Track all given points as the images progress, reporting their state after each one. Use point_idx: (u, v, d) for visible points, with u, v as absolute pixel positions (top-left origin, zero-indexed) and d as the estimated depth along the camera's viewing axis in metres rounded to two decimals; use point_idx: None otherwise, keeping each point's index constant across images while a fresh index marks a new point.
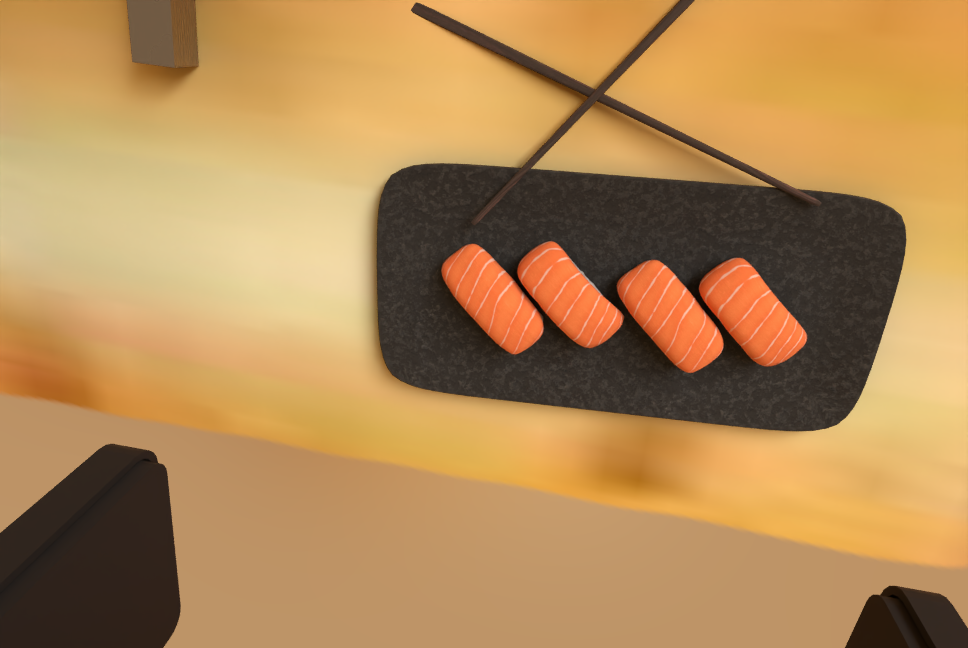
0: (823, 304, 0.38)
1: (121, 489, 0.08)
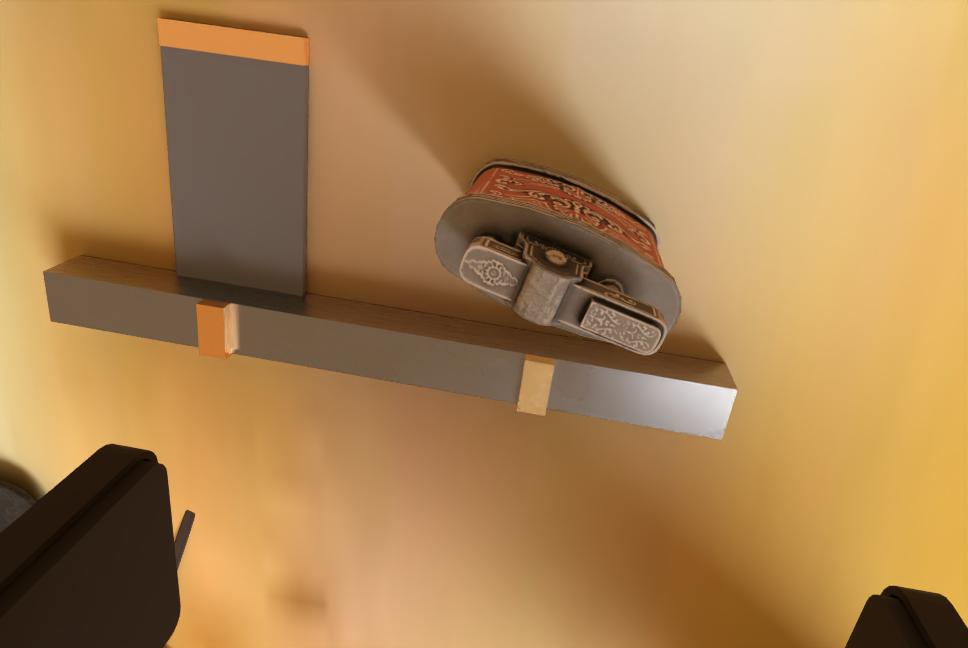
0: None
1: (121, 489, 0.08)
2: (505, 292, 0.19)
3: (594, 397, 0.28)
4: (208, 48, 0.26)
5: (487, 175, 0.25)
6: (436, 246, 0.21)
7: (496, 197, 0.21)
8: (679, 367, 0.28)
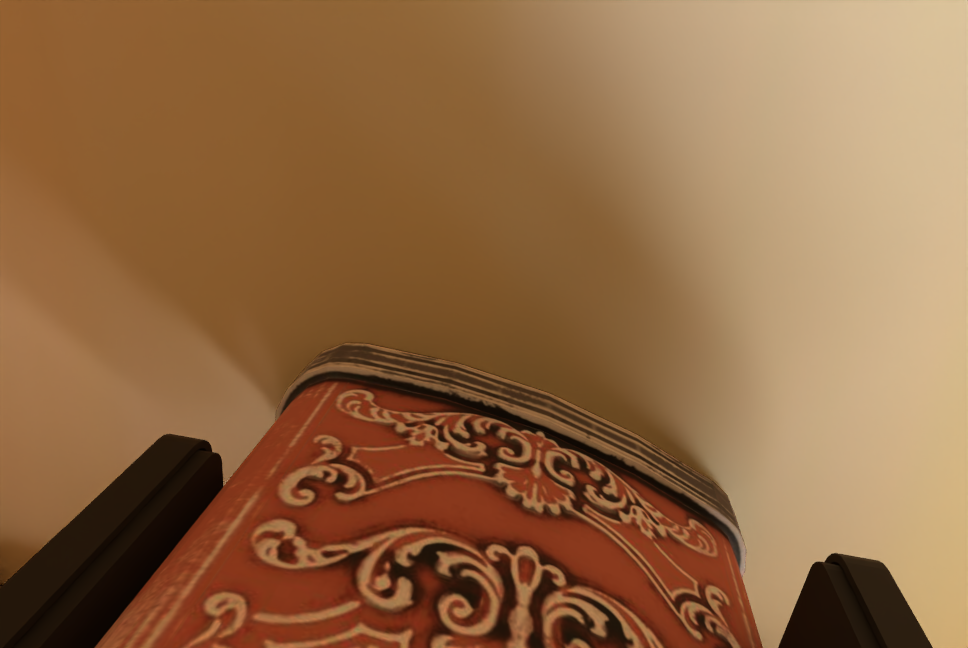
0: None
1: (183, 477, 0.08)
2: None
3: None
4: None
5: (280, 439, 0.09)
6: None
7: None
8: None
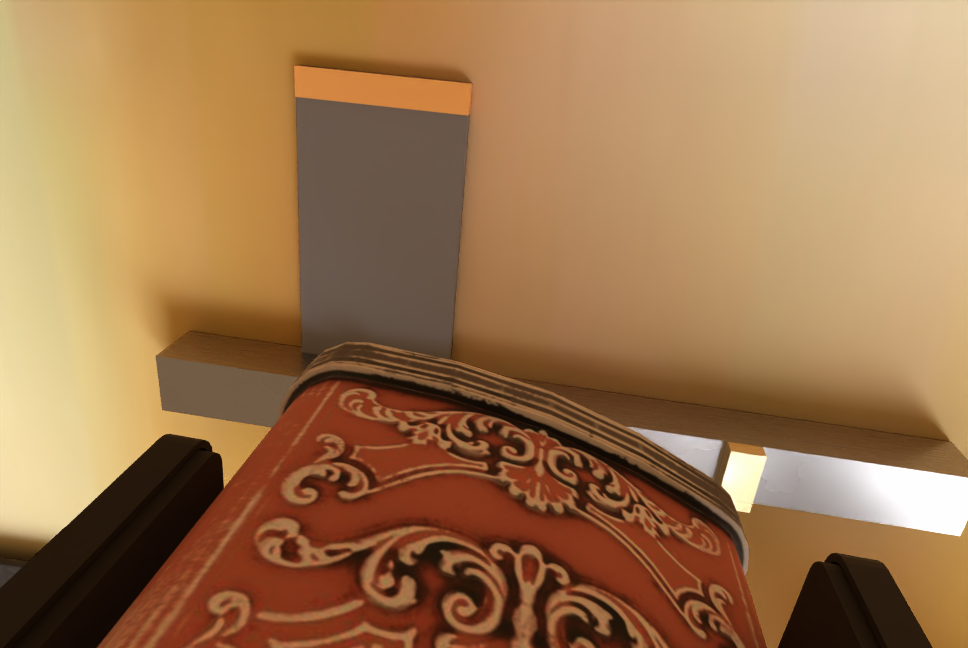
0: None
1: (183, 477, 0.08)
2: None
3: (807, 489, 0.24)
4: (353, 98, 0.23)
5: (283, 437, 0.09)
6: None
7: None
8: (903, 450, 0.24)
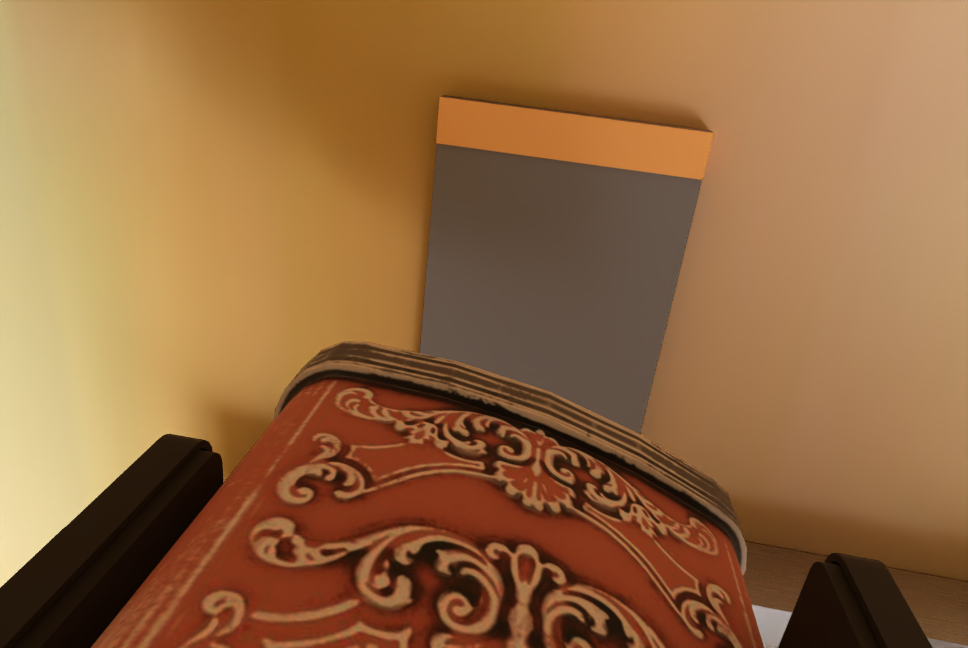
0: None
1: (183, 476, 0.08)
2: None
3: None
4: (526, 149, 0.15)
5: (279, 437, 0.09)
6: None
7: None
8: None
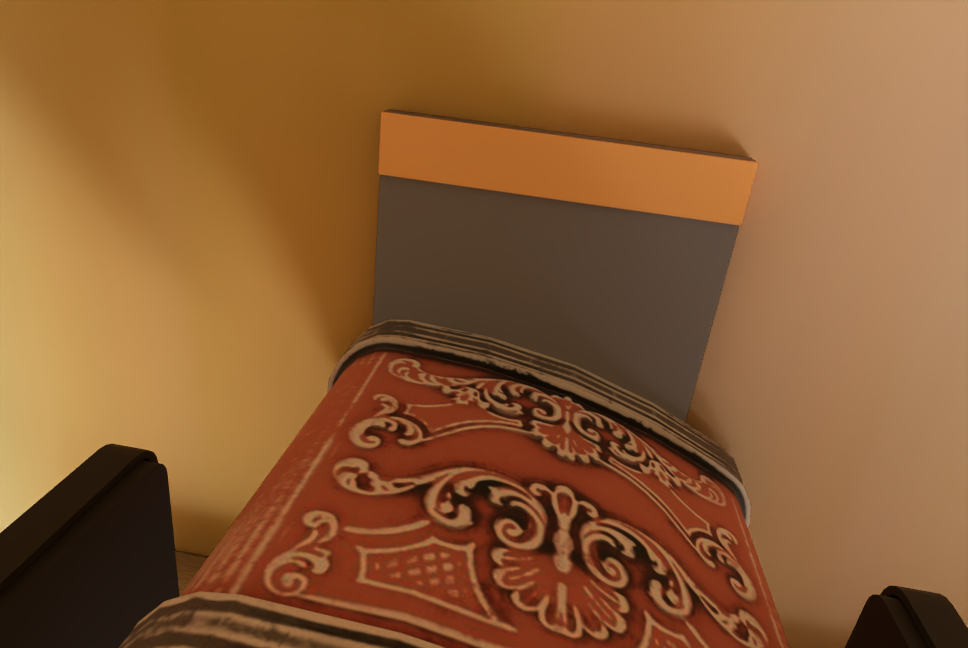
0: None
1: (121, 489, 0.08)
2: None
3: None
4: (500, 182, 0.11)
5: (343, 397, 0.10)
6: None
7: (278, 623, 0.06)
8: None
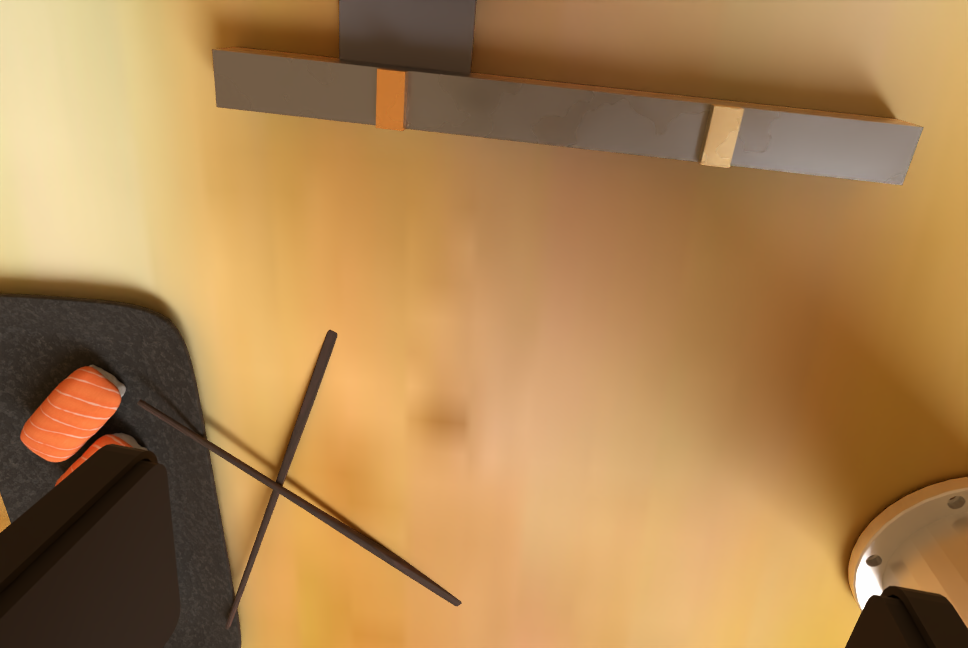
0: None
1: (121, 489, 0.08)
2: None
3: (777, 148, 0.28)
4: None
5: None
6: None
7: None
8: (857, 117, 0.28)
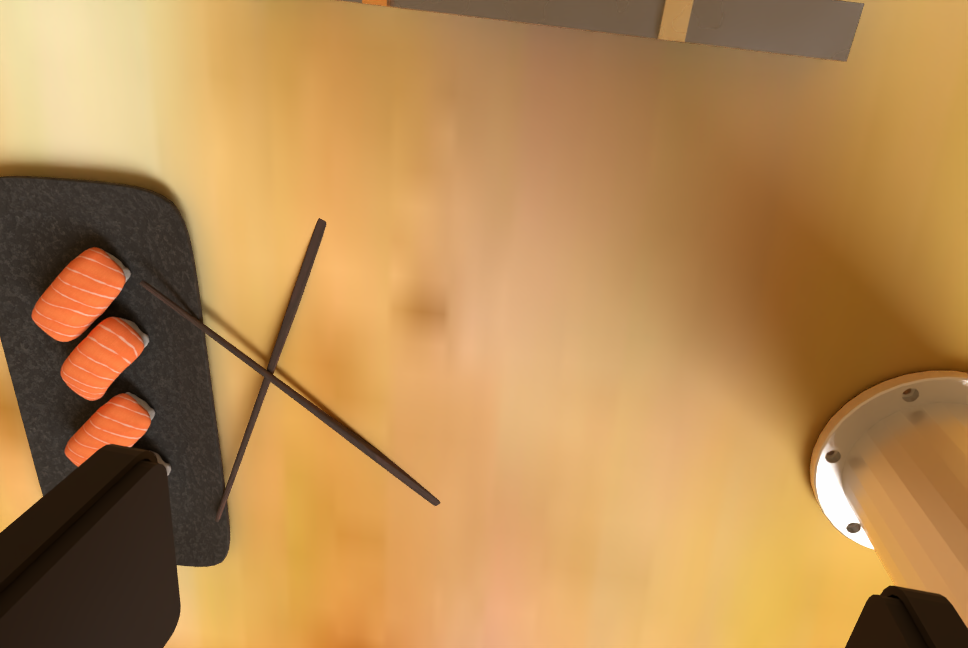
0: None
1: (121, 489, 0.08)
2: None
3: (729, 24, 0.30)
4: None
5: None
6: None
7: None
8: None
